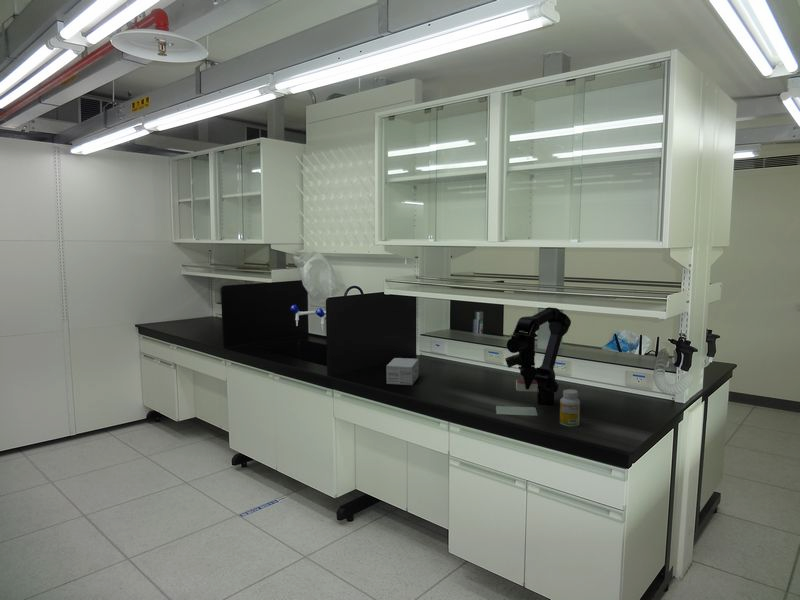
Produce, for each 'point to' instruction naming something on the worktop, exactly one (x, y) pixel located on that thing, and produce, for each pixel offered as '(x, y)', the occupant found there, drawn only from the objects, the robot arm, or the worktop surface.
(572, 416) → the supplement bottle
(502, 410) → the mat
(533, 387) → the card deck
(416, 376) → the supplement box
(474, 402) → the worktop surface
